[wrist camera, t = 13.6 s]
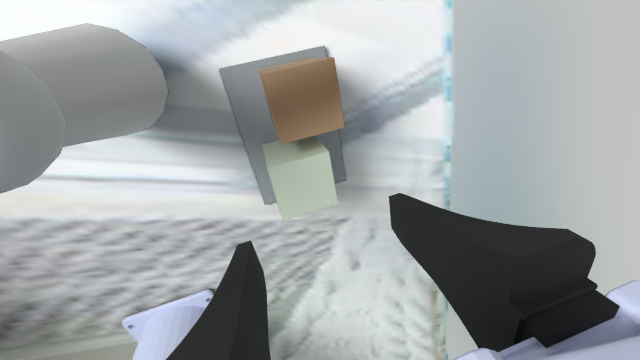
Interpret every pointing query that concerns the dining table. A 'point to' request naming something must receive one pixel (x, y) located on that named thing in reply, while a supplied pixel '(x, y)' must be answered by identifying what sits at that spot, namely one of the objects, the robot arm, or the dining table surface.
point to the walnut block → (303, 98)
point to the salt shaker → (71, 95)
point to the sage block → (300, 176)
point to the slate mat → (268, 116)
